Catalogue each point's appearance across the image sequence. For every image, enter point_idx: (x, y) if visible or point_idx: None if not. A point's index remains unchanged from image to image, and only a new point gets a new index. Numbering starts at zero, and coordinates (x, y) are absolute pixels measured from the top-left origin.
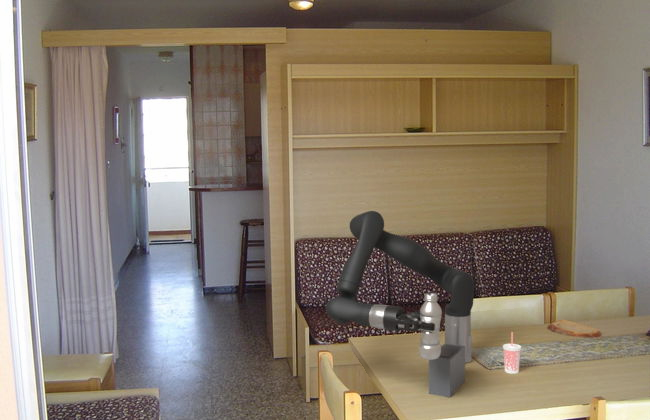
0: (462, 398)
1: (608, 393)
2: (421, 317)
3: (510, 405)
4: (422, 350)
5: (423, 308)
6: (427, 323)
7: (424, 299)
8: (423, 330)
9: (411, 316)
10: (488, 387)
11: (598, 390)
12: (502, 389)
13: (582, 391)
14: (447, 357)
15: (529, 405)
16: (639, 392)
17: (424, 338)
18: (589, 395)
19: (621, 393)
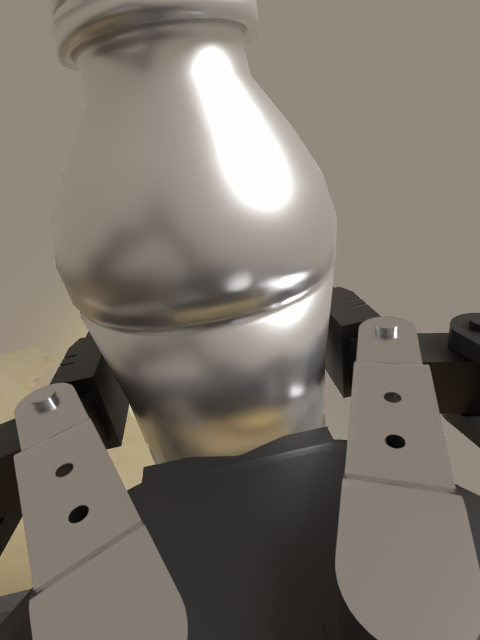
0: None
1: (20, 376)
2: (323, 305)
3: (148, 465)
4: None
5: (305, 158)
6: (342, 300)
7: (208, 4)
8: (318, 427)
9: (184, 604)
10: (3, 586)
11: (4, 389)
12: (20, 536)
13: (14, 403)
14: None
15: (131, 436)
16: (9, 355)
17: None
18: (36, 389)
19: (17, 366)
